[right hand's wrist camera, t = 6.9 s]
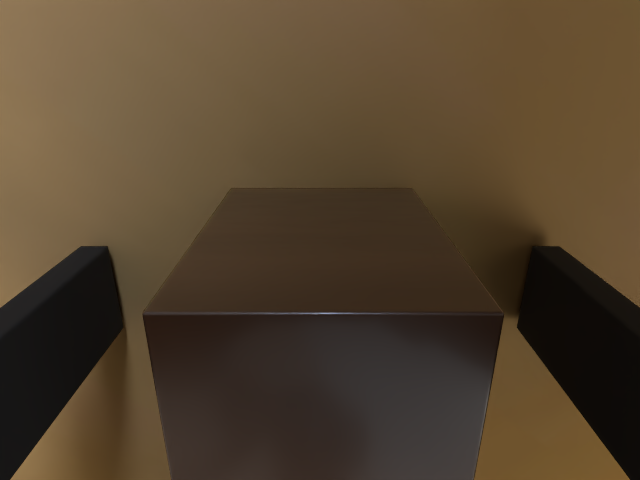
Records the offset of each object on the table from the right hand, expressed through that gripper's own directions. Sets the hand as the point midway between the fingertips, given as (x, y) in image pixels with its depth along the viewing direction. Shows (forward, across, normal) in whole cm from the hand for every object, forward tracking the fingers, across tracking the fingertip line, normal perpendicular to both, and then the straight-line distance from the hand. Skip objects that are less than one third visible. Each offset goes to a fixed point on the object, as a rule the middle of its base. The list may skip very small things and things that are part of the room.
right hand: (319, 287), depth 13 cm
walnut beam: (0, 0, -14) cm, 14 cm away
